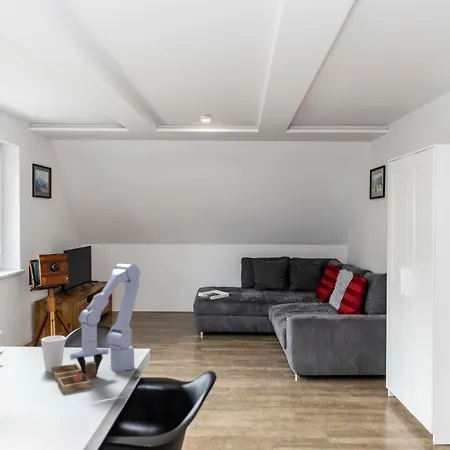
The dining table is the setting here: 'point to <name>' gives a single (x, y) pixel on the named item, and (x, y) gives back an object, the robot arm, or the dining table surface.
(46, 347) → the foam cup
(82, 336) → the robot arm
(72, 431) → the dining table surface
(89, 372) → the walnut block
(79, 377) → the red ball
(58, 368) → the box empty
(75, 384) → the box with ball
